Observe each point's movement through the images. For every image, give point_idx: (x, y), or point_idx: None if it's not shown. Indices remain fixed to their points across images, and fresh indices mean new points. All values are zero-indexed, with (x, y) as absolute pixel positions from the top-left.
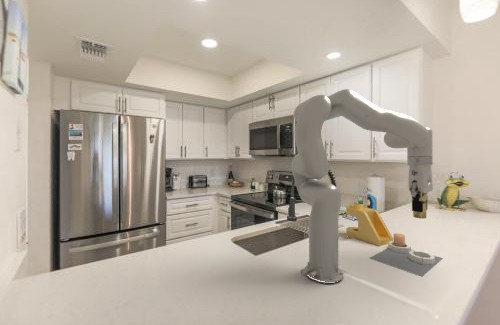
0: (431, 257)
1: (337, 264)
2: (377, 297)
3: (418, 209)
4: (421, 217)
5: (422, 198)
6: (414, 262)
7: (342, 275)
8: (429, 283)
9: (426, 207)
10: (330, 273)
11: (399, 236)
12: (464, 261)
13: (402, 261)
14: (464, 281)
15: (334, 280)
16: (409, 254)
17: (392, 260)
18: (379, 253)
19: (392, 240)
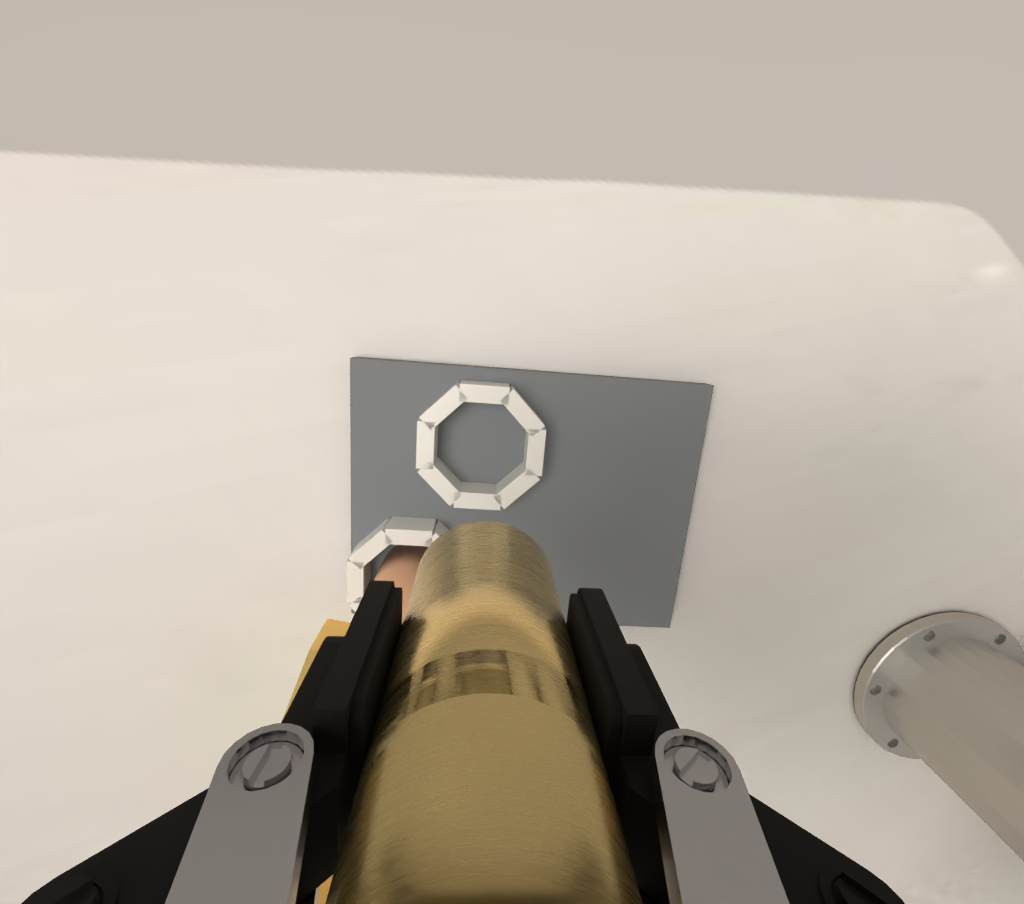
0: (486, 396)
1: (1001, 674)
2: (983, 468)
3: (633, 645)
4: (547, 559)
5: (598, 781)
6: (553, 457)
7: (938, 625)
8: (714, 350)
9: (385, 605)
10: (1012, 659)
11: None
12: (246, 263)
13: (587, 503)
14: (564, 227)
15: (999, 626)
16: (511, 499)
17: (612, 541)
18: (564, 617)
19: (319, 639)
